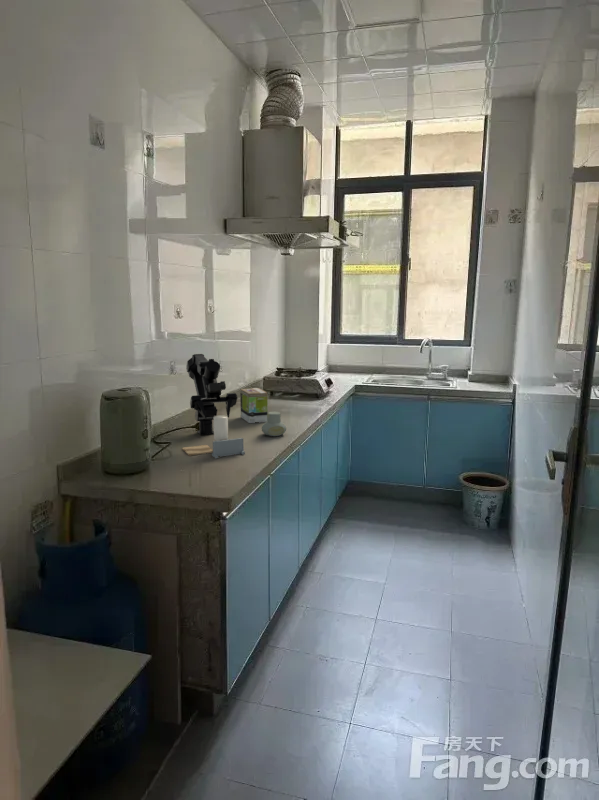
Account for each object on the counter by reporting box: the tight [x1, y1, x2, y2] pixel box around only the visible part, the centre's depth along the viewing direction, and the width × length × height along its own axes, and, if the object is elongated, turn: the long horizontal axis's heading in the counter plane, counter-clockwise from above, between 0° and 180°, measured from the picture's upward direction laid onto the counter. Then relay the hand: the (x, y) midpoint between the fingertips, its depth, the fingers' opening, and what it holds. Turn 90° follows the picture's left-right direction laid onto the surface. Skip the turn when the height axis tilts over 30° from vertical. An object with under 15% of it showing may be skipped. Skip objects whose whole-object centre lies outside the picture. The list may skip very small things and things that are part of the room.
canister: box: [213, 415, 229, 441], centre depth 210 cm, size 6×6×14 cm
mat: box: [182, 444, 213, 457], centre depth 212 cm, size 10×10×1 cm
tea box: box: [239, 387, 269, 424], centre depth 264 cm, size 15×10×15 cm, turn 22°
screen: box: [211, 437, 246, 459], centre depth 207 cm, size 4×12×6 cm, turn 117°
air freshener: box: [261, 411, 287, 437], centre depth 236 cm, size 11×8×10 cm
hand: (217, 417), depth 215 cm, fingers open, 9 cm apart
